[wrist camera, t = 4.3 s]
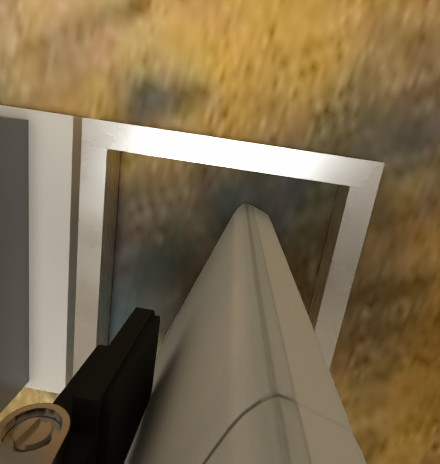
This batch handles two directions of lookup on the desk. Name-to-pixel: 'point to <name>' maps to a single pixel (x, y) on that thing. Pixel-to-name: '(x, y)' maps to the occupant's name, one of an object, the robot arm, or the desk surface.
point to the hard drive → (244, 367)
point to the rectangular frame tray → (226, 155)
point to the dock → (38, 248)
